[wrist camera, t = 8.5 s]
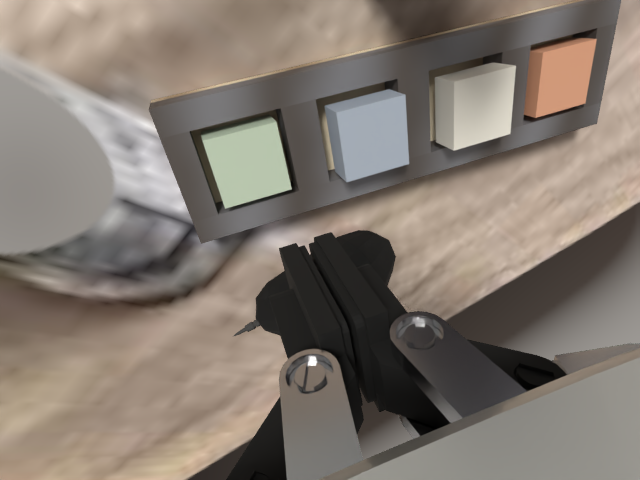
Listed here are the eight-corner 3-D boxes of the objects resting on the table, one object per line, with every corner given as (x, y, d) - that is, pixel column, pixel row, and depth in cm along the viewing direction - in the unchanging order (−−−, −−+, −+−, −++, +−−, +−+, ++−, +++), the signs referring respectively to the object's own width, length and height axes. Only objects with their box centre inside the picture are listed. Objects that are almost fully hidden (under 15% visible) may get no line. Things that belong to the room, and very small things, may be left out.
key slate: (388, 89, 23) (405, 94, 22) (393, 154, 25) (409, 163, 24) (324, 105, 22) (336, 112, 21) (335, 171, 25) (346, 182, 23)
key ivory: (492, 62, 24) (516, 65, 23) (489, 126, 26) (510, 134, 25) (434, 77, 24) (454, 81, 22) (435, 142, 26) (453, 150, 24)
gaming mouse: (204, 311, 30) (207, 347, 27) (373, 212, 30) (398, 236, 27) (246, 358, 33) (254, 396, 30) (398, 269, 34) (422, 296, 31)
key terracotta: (570, 37, 27) (596, 38, 25) (561, 98, 29) (585, 103, 27) (519, 50, 26) (543, 52, 24) (514, 112, 28) (535, 117, 26)
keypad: (586, -2, 27) (621, -4, 25) (567, 116, 31) (596, 123, 29) (151, 100, 22) (148, 109, 20) (199, 225, 26) (201, 243, 24)
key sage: (269, 114, 23) (276, 121, 21) (284, 177, 25) (291, 189, 23) (200, 131, 22) (202, 141, 21) (221, 195, 24) (225, 208, 23)
